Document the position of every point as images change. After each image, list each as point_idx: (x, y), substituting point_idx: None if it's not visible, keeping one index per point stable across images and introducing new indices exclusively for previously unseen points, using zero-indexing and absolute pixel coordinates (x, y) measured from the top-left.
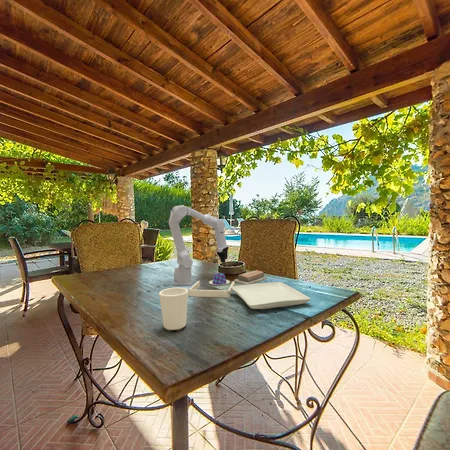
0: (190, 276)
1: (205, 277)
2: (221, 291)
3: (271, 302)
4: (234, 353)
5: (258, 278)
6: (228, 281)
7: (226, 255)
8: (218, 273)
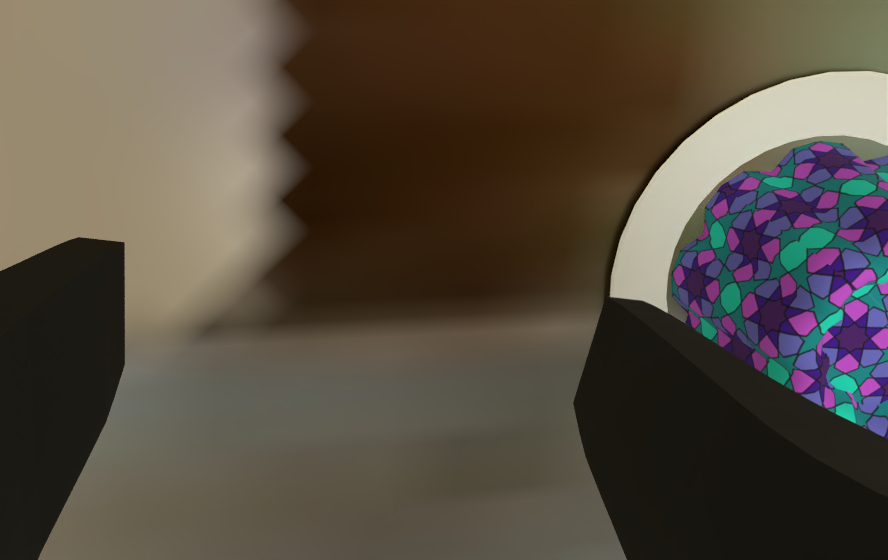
0: None
1: (382, 546)
2: None
3: None
4: None
5: None
6: (800, 102)
7: (65, 324)
8: (824, 368)
